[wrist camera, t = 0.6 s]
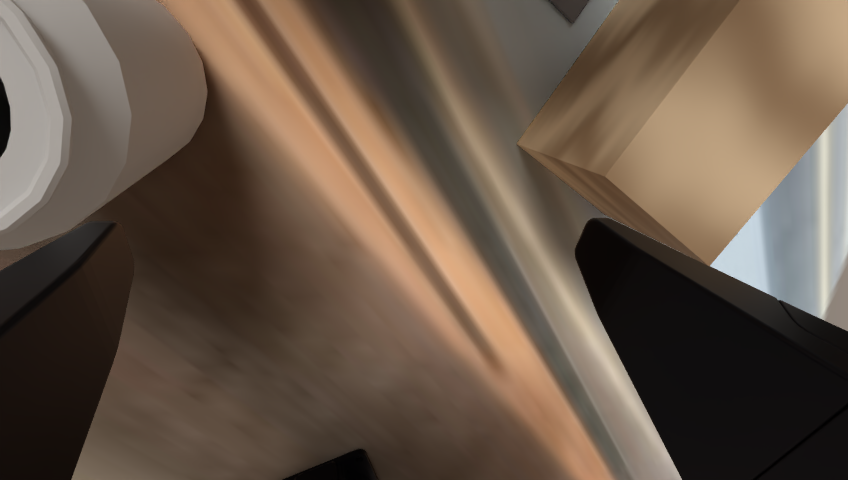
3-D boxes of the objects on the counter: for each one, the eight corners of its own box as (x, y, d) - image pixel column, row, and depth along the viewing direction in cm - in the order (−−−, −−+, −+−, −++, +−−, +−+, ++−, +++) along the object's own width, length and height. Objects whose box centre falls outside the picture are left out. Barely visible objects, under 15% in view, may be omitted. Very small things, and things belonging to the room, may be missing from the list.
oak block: (603, 213, 28) (709, 266, 20) (515, 143, 24) (604, 176, 17) (756, 17, 25) (936, -2, 18) (681, -90, 22) (865, -164, 15)
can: (211, 172, 21) (116, 290, 10) (18, 155, 19) (-369, 280, 8) (211, -3, 18) (83, -97, 8) (-12, -48, 16) (-640, -270, 5)
